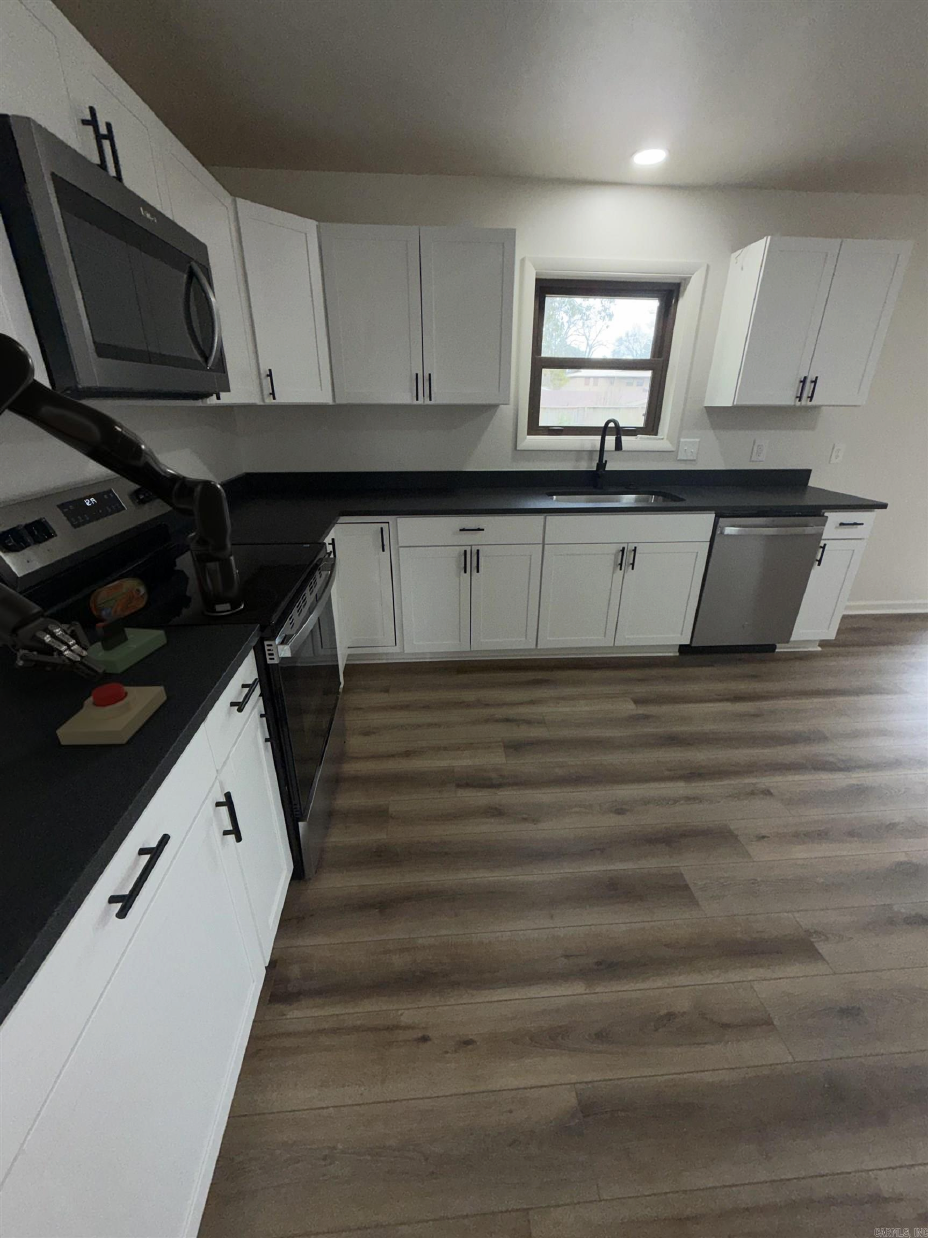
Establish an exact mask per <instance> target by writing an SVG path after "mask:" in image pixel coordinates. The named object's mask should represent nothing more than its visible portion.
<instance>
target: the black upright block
mask: <svg viewBox="0 0 928 1238" xmlns="http://www.w3.org/2000/svg"><path fill="white" fill-rule="evenodd" d="M94 628H95V631H96V634H97V636H98V639H99V641H100V642H101V645H102V648H103V650H108V651H110V650H112V649H114V648H115V647H117V646H119V645H120V644H122V643H124V642H125V641H127V640H128V638H127V635H126V631H125V628H126V627H125V625H124V623H123V618H121V617H116V616H114V617H112V618H110V619H108V620H103V622H99V623H97V624H95V626H94Z"/></svg>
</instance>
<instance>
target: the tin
mask: <svg viewBox="0 0 928 1238" xmlns="http://www.w3.org/2000/svg"><path fill="white" fill-rule="evenodd" d="M148 592H149V591H148V588H147V585H146V584H145V583H144V581H143V580H141V579H139V578H137V577H127V578H125V577H124V578H121V579H119V580H117V581H115V582H111V583H110V584H107V585H105V586H102V587H100V588H98V589H96V590H95V591H94V592H93V593H92V594H91V596H90V600H89V606H90V609H91V612H92V614H93V615H94V617H95V618H96V619H99V620H101V621H106V620H108V619H110V618H112V617H114V616H116V617H121V619H123V618H125V617H126V616H128V615H131V614H132V613H134V612H136V611H138V610H140V609H142V608H143V607H144V606H145V605H146V603H147V601H148V597H149V595H148V594H149V593H148Z"/></svg>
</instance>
